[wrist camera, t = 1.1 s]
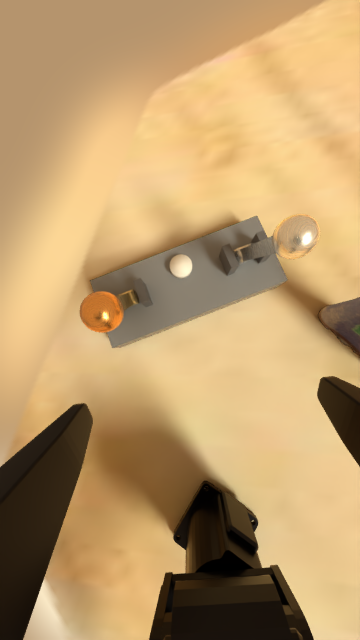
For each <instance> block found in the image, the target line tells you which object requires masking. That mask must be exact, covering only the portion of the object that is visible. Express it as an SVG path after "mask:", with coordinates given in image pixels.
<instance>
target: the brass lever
mask: <svg viewBox="0 0 360 640" xmlns="http://www.w3.org/2000/svg"><path fill="white" fill-rule="evenodd" d="M139 303H140V302H139V298H138V296H137V293H136V292H135V290H134V289H131V290H129V291H126V292H124V293H121V294H119V295H116V296H115V295H113V294H111V293H109V292H104V291H99V292H94V293H92V294H90V295H88V296H87V297H86V298H85V299H84V300H83V302H82V304H81V306H80V317H81V320H82V322H83V323H84V324H85V325H86V327H88V328H89V329H91V330H93V331H95V332H102V333H103V332H109V331H112V330H114V329H115V328H117V327H118V326H119V325H120V323H121V322H122V320H123V317H124V311H125V310H126V309H127V308H129V307H131V306H134V305H136V304H139Z"/></svg>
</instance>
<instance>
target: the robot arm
mask: <svg viewBox="0 0 360 640" xmlns="http://www.w3.org/2000/svg"><path fill="white" fill-rule="evenodd" d="M317 396H318V399H319V401H320V403H321V405H322V407H323V408H324V410H325V412H326V414H327V416H328V417H329V419H330V421H331V423H332V424H333V426H334V428H335V430H336V431H337V433H338V435H339V436H340V438H341V440H342V441H343V443H344V444H345V446H346V447H347V449H348V450H349V452H350V453H351V455H352V456H353V458H354V459H355V461H356V462H357V463H358V465H359V466H360V388H358V387H356V386H354V385H352V384H350V383H348V382H345V381H343V380H341V379H339V378H337V377H334V376H330V377H322V378H321V379H320V383H319V388H318V392H317ZM92 424H93V418H92V415H91V413H90V411H89V409H88V406H87V405H86V404H85V403H81V404H75V405H73V406H72V407H70V408H69V409H68V410H67V411H66V412H65V413H63V414H62V415H61V416H60V417H59V418H57V419H56V420H55V421H54V422H53V423H52V424H50V425H49V426H48V427H47V428H46V429H45V430H43V431H42V432H41V433H40V434H39V435H37V436H36V437H35V438H34V439H33V440H32V441H30V442H29V443H28V444H27V445H26V446H25V447H23V448H22V449H21V450H20V451H19V452H17V453H16V454H15V455H14V456H13V457H12V458H10V459H9V460H8V461H7V462H6V463H5V464H3V465H2V466H1V467H0V640H23V638H24V635H25V632H26V629H27V626H28V624H29V620H30V618H31V614H32V611H33V609H34V606H35V603H36V600H37V597H38V594H39V591H40V588H41V585H42V583H43V580H44V577H45V574H46V571H47V568H48V565H49V562H50V559H51V556H52V553H53V550H54V547H55V545H56V542H57V539H58V536H59V533H60V530H61V527H62V524H63V521H64V518H65V515H66V512H67V509H68V506H69V504H70V501H71V498H72V495H73V492H74V489H75V486H76V483H77V480H78V477H79V474H80V471H81V468H82V464H83V461H84V457H85V453H86V449H87V445H88V440H89V436H90V432H91V428H92ZM205 486H207V487H208V488H207V489H205V488H204V487H205ZM251 520H254V521H253V522H251ZM257 526H258V520H257V518H256V516H255V515H254V514H253V513H251V512H250V511H248V510H247V509H246V507H245V506H244V505H243V504H242V503H240V502H239V501H238V500H236V499H235V498H233V497H232V496H231V495H229V494H228V493H226V492H225V491H221V490H219V489H218V488H216V487H215V486H214V485H212V484H211V483H209V482H208V481H204V482H203V483H202V484H201V486H200V488H199V489H198V491H197V493H196V494H195V496H194V498H193V500H192V501H191V503H190V505H189V507H188V508H187V510H186V512H185V513H184V515H183V517H182V519H181V520H180V522H179V524H178V526H177V527H176V529H175V531H174V536H173V539H174V541H175V542H176V543H177V544H179V545H180V546H181V547H182V548H184V549H185V550H186V573H184V574H173V573H172V572H168V573H165V577H164V581H163V585H162V586H161V590H160V594H159V598H158V603H157V607H156V611H155V616H154V620H153V624H152V629H151V633H150V638H149V640H314V639H313V636H312V633H311V631H310V628H309V626H308V623H307V621H306V618H305V616H304V614H303V612H302V610H301V608H300V606H299V604H298V603H297V601H296V599H295V597H294V595H293V593H292V591H291V589H290V588H289V586H288V584H287V582H286V580H285V578H284V576H283V574H282V573H281V571H280V569H279V567H278V565H270V568H262V566H261V563H260V560H259V557H258V554H257V550H258V543H257V540H256V537H255V534H254V531H255V530H256V528H257ZM177 535H180V537H178V536H177Z"/></svg>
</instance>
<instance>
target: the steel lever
mask: <svg viewBox="0 0 360 640" xmlns="http://www.w3.org/2000/svg"><path fill="white" fill-rule="evenodd" d="M319 237H320V227H319V225H318V223H317V221H316V220H315V219H314V218H313V217H311V216H309V215H305V214H297V215H292V216H290V217H288V218H286V219H284V220H283V221H282V222H281V223H280V224H279V225H278V226H277V227H276V229H275V231H274V233H273V236H271V237H269V238H266V239H264V240H262V241H259V242H257V243H250V244H247V245H245V246H242V247H240V248H237V249H234V250H233V252H234V255H235V257H236V259H237V261H238V263H239V264H242V263H245V262H247V261H250V260H252V259H255V258H259V257H263V256H267V255H271V254H275V253H277V254H278V255H279V256H281V257H283V258H286V259H297V258H300V257H303V256H305V255H307V254H308V253H309V252H311V251H312V250H313V249H314V247H315V246H316V244H317V242H318V240H319Z"/></svg>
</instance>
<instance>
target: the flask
mask: <svg viewBox="0 0 360 640" xmlns="http://www.w3.org/2000/svg"><path fill="white" fill-rule="evenodd" d="M318 316H319V318H320V320H321V322H322V324H323V325H324V326H325V328H327V329H330V330H332V332H333V333H334V334H335V335H337V338H338V339H340V341H341V342H343V343H344V344H345V345H348V346H350V347H352V348H353V350H354V351H353V352H355V353H357V354H359V355H360V297H359V298H356V299H353V300H349V301H345V302H342V303H338V304H334V305H328V306H326V307H324V308H323V309H322V310H320V312H319V314H318Z"/></svg>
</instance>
